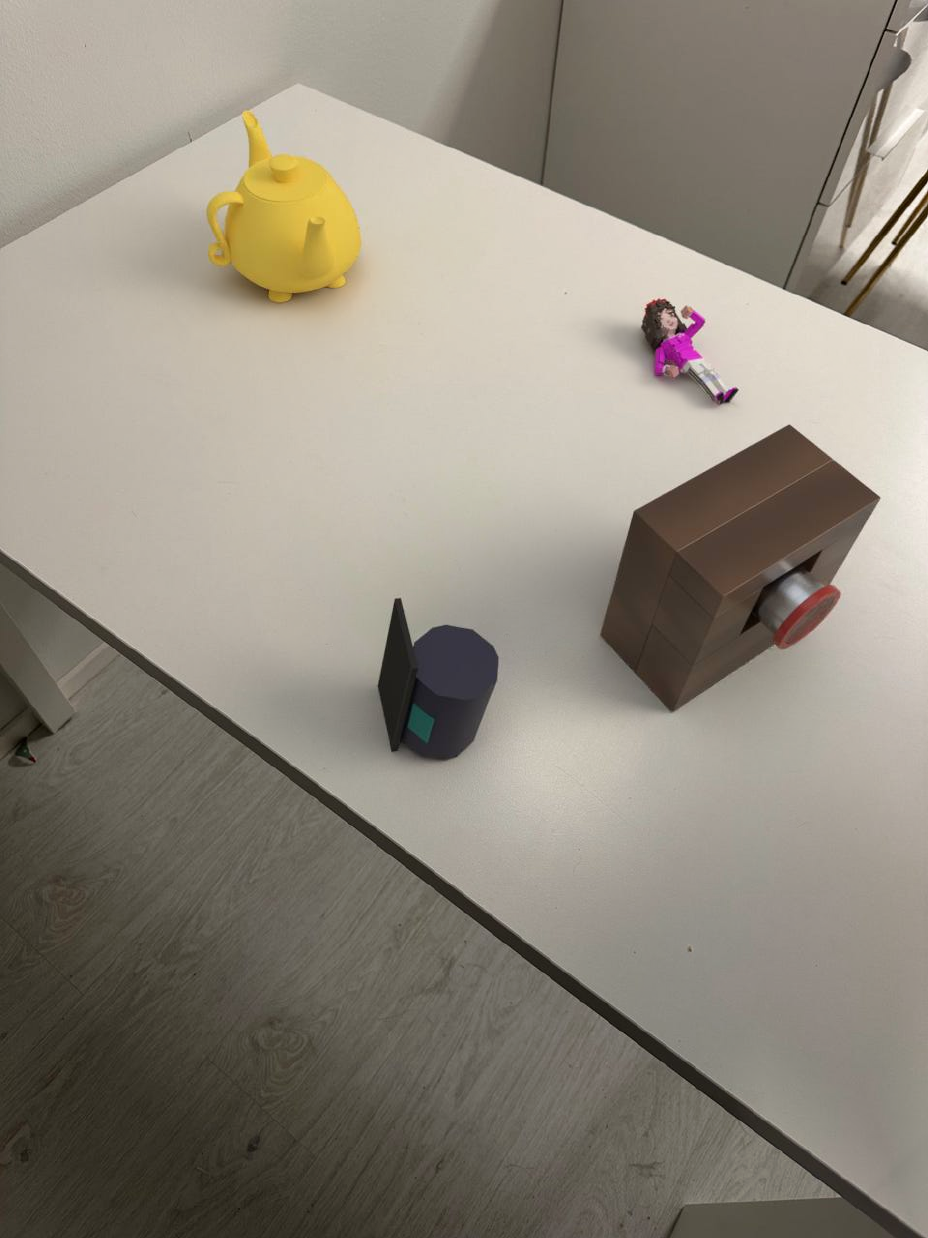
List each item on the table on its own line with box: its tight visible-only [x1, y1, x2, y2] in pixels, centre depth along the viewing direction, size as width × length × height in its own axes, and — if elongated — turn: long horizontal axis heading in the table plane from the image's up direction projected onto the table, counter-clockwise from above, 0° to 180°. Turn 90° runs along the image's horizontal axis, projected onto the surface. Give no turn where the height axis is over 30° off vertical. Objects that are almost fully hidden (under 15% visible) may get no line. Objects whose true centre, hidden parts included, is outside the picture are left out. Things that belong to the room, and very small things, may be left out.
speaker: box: [377, 597, 500, 761], centre depth 61 cm, size 8×6×10 cm
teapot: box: [205, 110, 362, 303], centre depth 89 cm, size 20×15×12 cm
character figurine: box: [640, 297, 739, 406], centre depth 86 cm, size 6×5×12 cm
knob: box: [751, 564, 842, 650], centre depth 61 cm, size 4×5×5 cm
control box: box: [599, 424, 882, 713], centre depth 65 cm, size 8×14×14 cm, turn 125°
